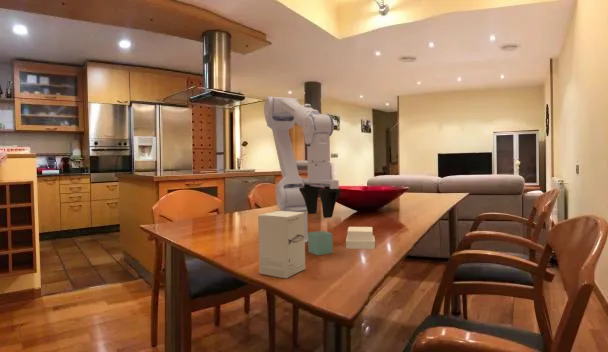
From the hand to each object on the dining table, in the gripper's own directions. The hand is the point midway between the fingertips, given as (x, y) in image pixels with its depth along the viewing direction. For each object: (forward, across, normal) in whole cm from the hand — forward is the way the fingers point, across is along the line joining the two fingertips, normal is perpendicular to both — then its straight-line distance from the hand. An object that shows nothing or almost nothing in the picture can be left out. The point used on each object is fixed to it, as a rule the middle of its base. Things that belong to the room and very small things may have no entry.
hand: (319, 215), depth 95 cm
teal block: (+10, 0, 0) cm, 10 cm away
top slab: (+7, 0, +13) cm, 15 cm away
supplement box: (+10, +9, -15) cm, 20 cm away
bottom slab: (+10, 0, +13) cm, 16 cm away
